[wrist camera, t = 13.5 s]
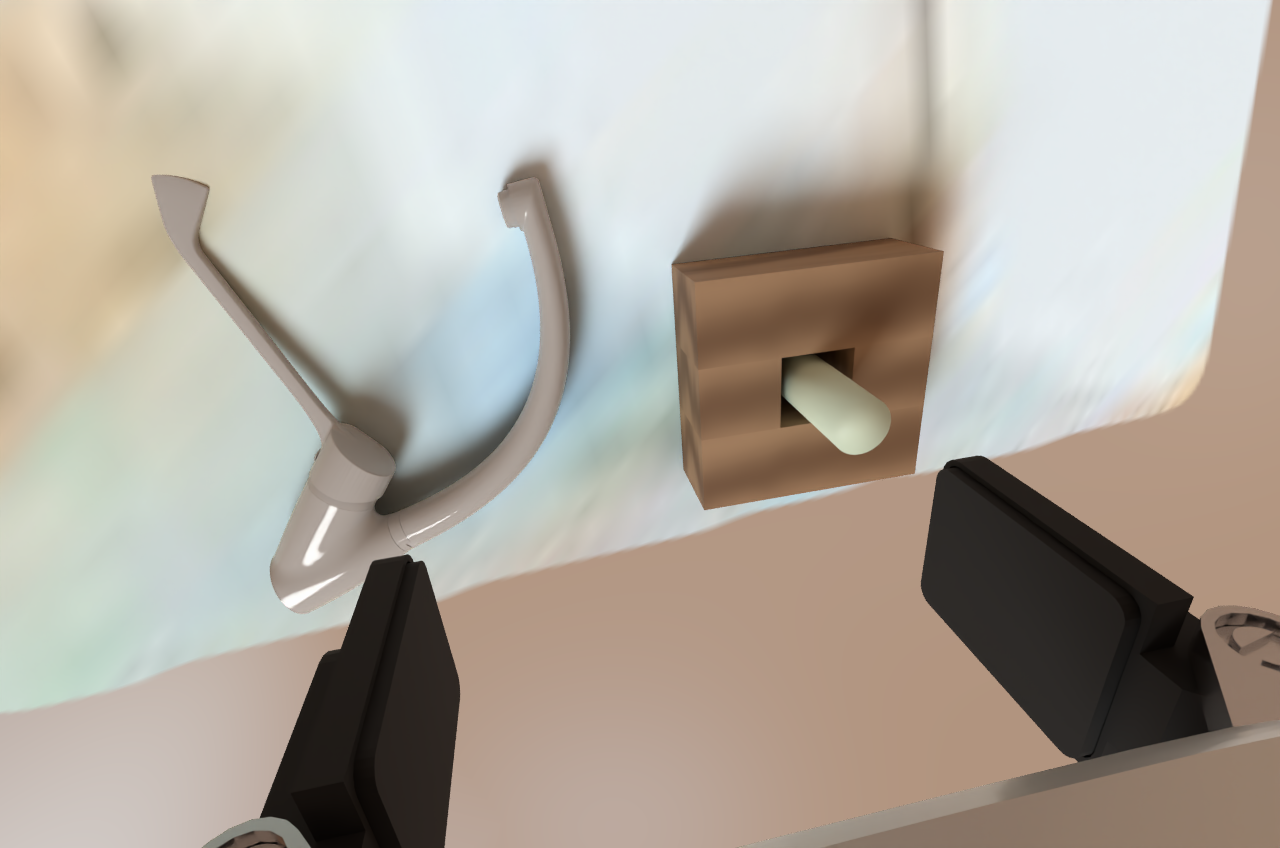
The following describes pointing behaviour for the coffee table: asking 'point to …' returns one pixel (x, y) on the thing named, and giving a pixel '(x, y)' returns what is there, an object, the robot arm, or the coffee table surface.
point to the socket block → (791, 326)
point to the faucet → (353, 461)
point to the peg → (834, 404)
